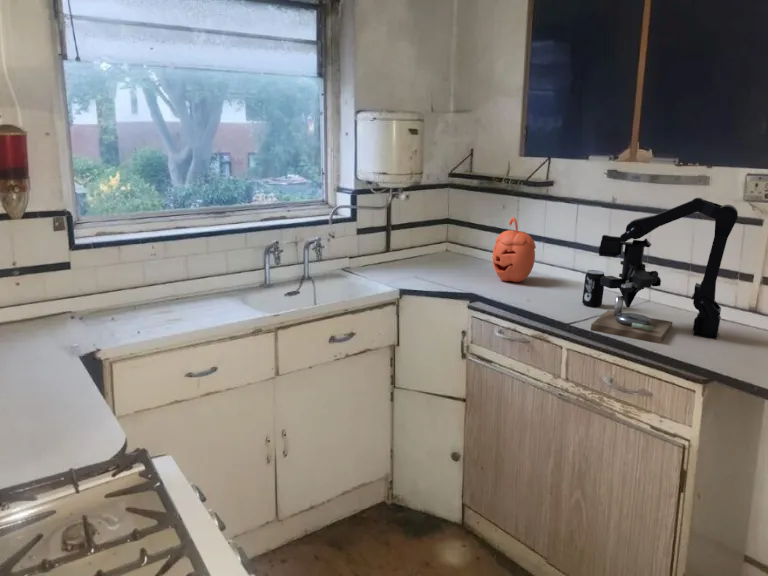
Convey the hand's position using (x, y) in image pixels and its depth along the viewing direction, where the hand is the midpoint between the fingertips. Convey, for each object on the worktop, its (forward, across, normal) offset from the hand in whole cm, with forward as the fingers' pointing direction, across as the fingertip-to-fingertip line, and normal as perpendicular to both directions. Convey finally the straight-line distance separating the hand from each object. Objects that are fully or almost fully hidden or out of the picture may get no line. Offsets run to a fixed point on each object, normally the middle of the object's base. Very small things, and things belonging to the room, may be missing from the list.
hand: (627, 307), depth 217 cm
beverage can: (+5, 0, +20) cm, 20 cm away
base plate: (+5, -3, -8) cm, 10 cm away
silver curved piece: (+2, -3, -6) cm, 7 cm away
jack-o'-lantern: (+5, -12, +58) cm, 59 cm away
